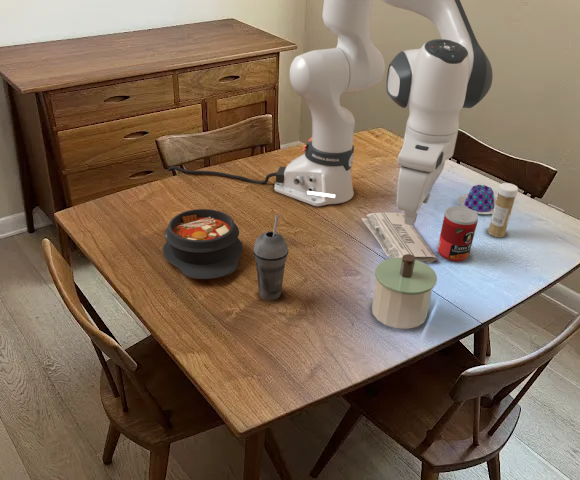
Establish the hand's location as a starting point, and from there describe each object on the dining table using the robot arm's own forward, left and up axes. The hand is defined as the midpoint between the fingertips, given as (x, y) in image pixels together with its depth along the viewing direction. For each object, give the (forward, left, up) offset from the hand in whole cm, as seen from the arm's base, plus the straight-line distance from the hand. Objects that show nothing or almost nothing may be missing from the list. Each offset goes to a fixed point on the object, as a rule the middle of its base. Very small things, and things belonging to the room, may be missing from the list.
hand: (416, 211), depth 114 cm
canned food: (+5, +29, -25) cm, 38 cm away
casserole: (-48, 0, -25) cm, 54 cm away
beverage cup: (-27, -7, -25) cm, 37 cm away
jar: (0, 0, -24) cm, 24 cm away
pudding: (+6, +57, -25) cm, 62 cm away
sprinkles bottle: (+13, +44, -25) cm, 52 cm away
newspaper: (-9, +28, -25) cm, 38 cm away
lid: (0, 0, -15) cm, 15 cm away
